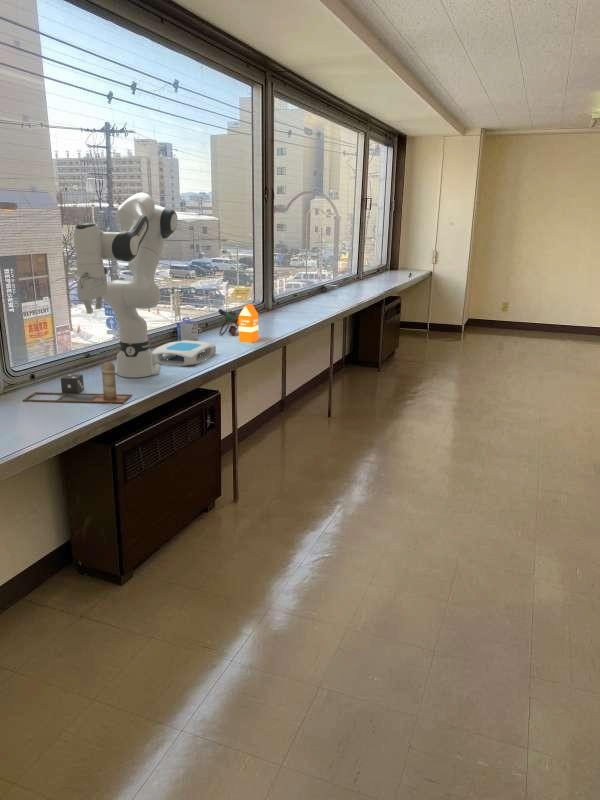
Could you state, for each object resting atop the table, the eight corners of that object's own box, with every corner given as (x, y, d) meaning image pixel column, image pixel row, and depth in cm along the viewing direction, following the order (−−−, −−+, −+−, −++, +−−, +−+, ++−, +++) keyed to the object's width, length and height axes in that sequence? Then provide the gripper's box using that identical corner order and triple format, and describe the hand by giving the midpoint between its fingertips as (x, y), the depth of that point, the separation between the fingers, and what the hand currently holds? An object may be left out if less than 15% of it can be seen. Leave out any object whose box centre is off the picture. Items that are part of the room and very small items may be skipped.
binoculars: (231, 343, 334) (245, 320, 332) (210, 330, 329) (223, 307, 327) (228, 338, 347) (241, 316, 345) (208, 326, 342) (221, 303, 340)
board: (35, 393, 222) (35, 392, 221) (131, 395, 221) (131, 394, 221) (22, 401, 212) (22, 400, 212) (123, 403, 212) (123, 402, 211)
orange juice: (238, 342, 320) (238, 304, 314) (245, 339, 328) (245, 302, 322) (251, 343, 318) (251, 305, 312) (258, 340, 326) (258, 303, 320)
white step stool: (149, 364, 270) (148, 350, 268) (177, 351, 296) (176, 339, 294) (192, 367, 265) (191, 354, 263) (216, 354, 291) (216, 342, 289)
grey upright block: (194, 343, 314) (193, 316, 310) (199, 345, 310) (198, 317, 305) (177, 345, 308) (176, 317, 304) (181, 347, 304) (180, 319, 300)
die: (68, 389, 228) (67, 373, 226) (84, 389, 228) (82, 374, 226) (62, 393, 222) (60, 378, 221) (78, 394, 222) (76, 378, 220)
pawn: (106, 396, 219) (103, 360, 215) (118, 396, 219) (116, 360, 215) (101, 400, 214) (98, 363, 210) (114, 400, 214) (112, 363, 210)
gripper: (89, 275, 196) (93, 316, 201) (108, 268, 216) (112, 306, 220) (70, 274, 196) (74, 316, 201) (91, 268, 216) (95, 306, 220)
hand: (94, 311), depth 211 cm, fingers open, 8 cm apart
